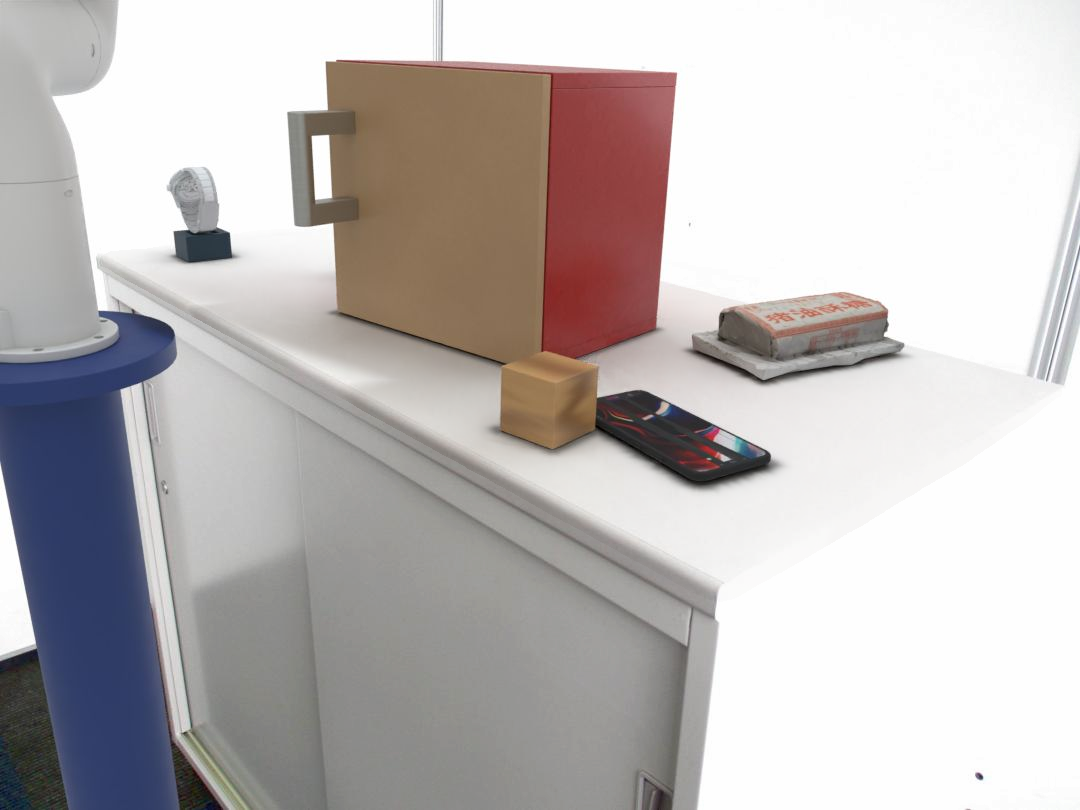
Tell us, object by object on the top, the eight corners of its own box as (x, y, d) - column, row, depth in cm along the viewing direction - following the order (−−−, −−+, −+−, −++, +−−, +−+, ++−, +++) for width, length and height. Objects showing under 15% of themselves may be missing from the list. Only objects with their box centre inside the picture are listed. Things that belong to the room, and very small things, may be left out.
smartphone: (641, 387, 75) (777, 454, 63) (640, 395, 75) (776, 463, 63) (567, 402, 71) (697, 476, 60) (567, 411, 72) (696, 486, 60)
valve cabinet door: (481, 391, 75) (484, 74, 66) (284, 323, 90) (265, 60, 81) (540, 369, 80) (551, 74, 71) (345, 309, 96) (333, 61, 87)
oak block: (552, 449, 65) (555, 382, 63) (499, 430, 68) (500, 365, 66) (595, 430, 68) (599, 366, 67) (543, 412, 71) (545, 350, 69)
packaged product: (831, 281, 94) (912, 306, 86) (824, 327, 96) (903, 355, 88) (693, 300, 85) (769, 329, 77) (688, 350, 87) (762, 383, 79)
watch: (213, 248, 121) (204, 162, 117) (237, 259, 116) (229, 169, 112) (169, 253, 118) (159, 164, 114) (193, 265, 112) (183, 172, 108)
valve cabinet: (542, 370, 80) (553, 72, 72) (346, 310, 96) (335, 59, 87) (656, 328, 93) (677, 72, 85) (467, 282, 109) (468, 61, 100)
